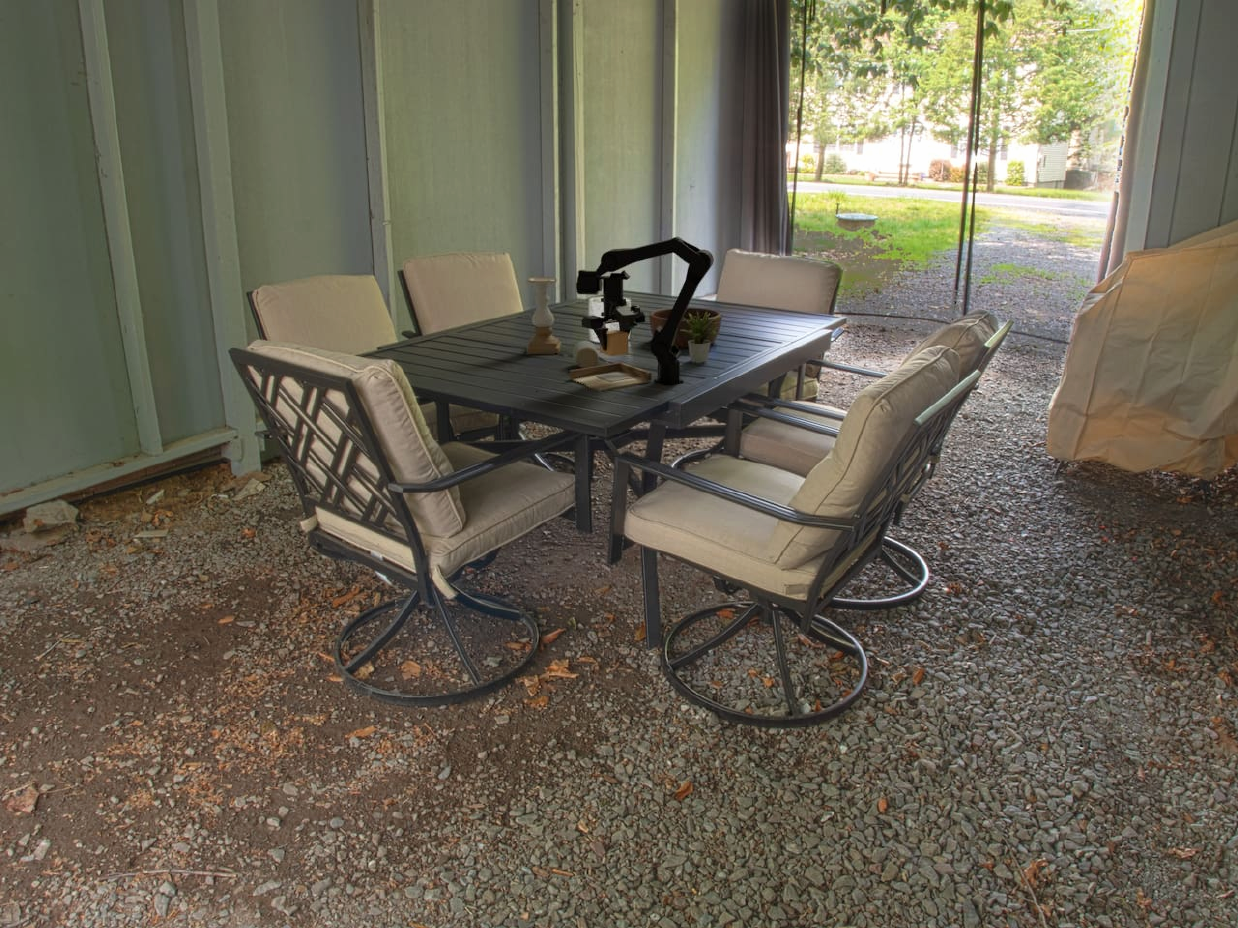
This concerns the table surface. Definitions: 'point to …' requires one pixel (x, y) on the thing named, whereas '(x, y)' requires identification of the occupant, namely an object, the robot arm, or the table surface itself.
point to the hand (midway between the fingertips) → (614, 348)
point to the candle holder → (543, 320)
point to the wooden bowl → (685, 324)
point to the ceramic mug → (587, 355)
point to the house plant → (700, 337)
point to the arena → (611, 376)
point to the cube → (616, 343)
